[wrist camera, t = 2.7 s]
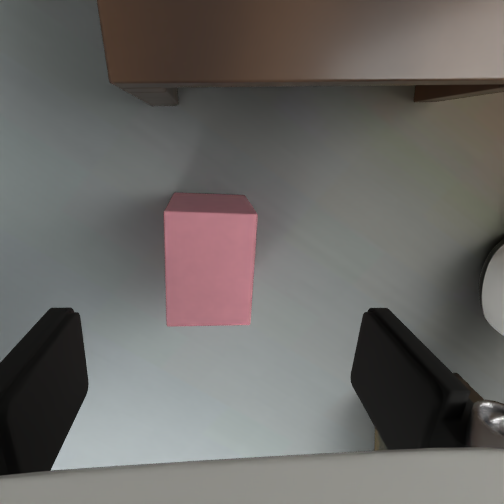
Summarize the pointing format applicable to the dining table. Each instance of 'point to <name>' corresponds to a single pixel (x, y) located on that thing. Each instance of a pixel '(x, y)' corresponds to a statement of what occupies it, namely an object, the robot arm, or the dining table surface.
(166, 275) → the pink box
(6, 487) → the robot arm
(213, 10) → the rack
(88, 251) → the dining table surface
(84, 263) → the dining table surface
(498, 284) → the spread jar
